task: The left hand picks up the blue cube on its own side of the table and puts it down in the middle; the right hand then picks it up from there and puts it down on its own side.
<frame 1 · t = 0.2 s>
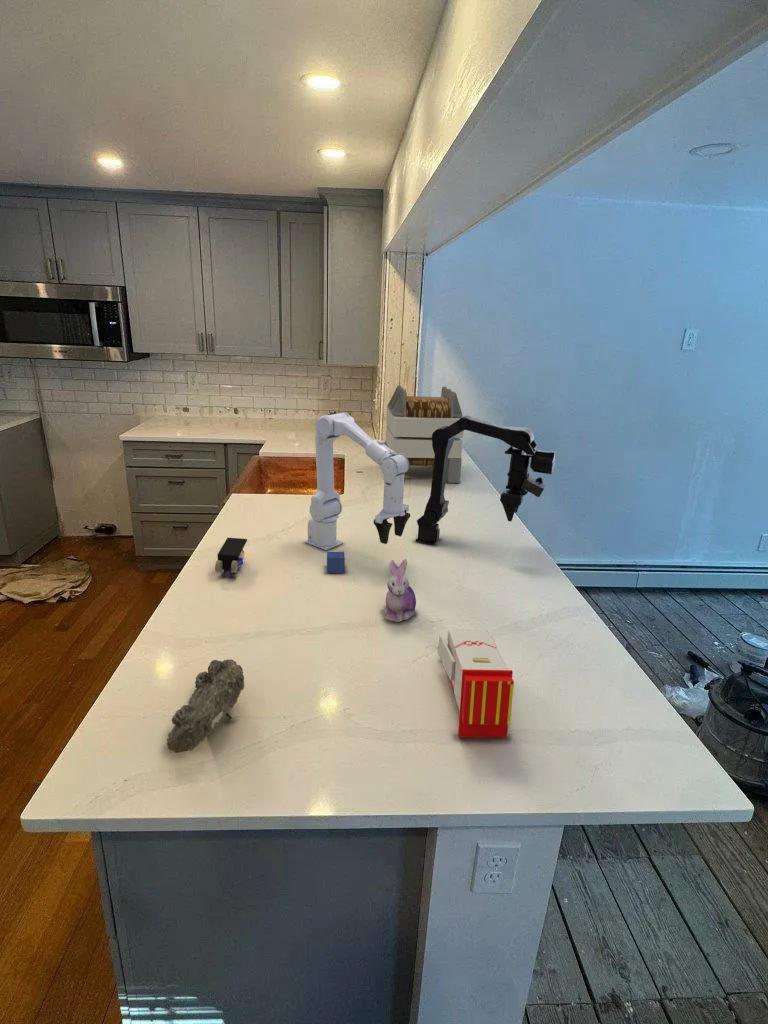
left hand: (391, 539, 169), 10 cm above the counter, tool pointing down, fingers open, 7 cm apart
right hand: (512, 516, 180), 14 cm above the counter, tool pointing down, fingers open, 9 cm apart
figurine: (399, 614, 147), on the counter
toy: (469, 691, 119), on the counter
fossil: (212, 717, 108), on the counter
blue cube: (335, 569, 171), on the counter
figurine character: (232, 569, 168), on the counter
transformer: (419, 473, 275), on the counter
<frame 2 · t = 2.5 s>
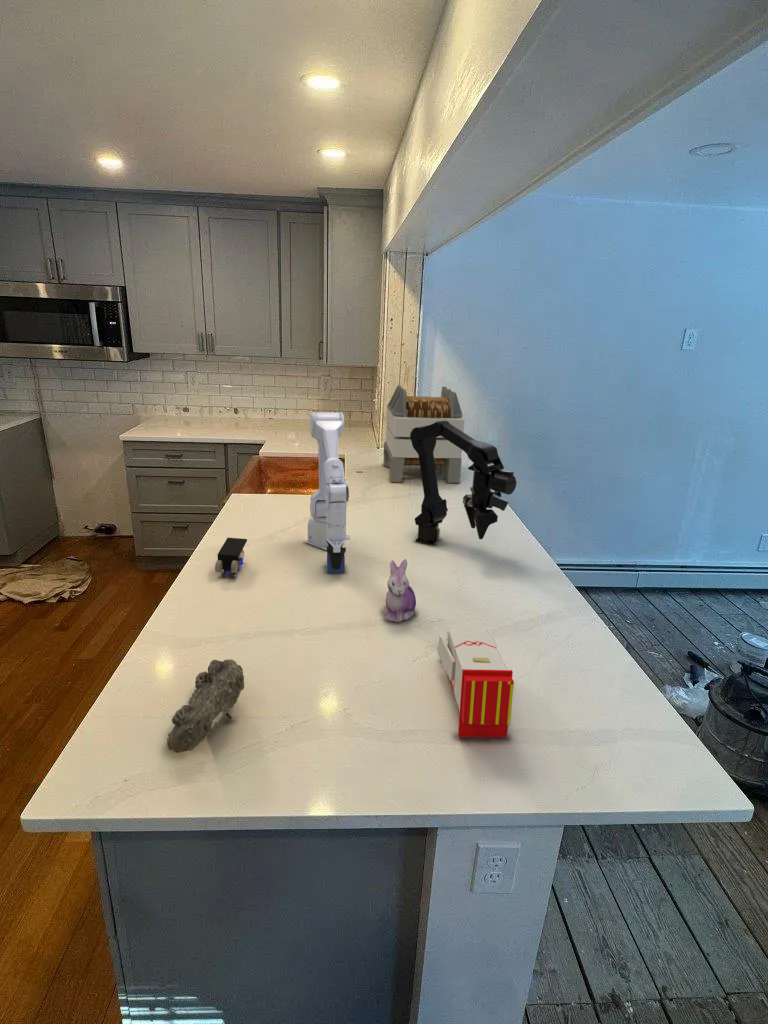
left hand: (335, 564, 170), 2 cm above the counter, tool pointing down, fingers closed on blue cube, 4 cm apart
right hand: (476, 533, 179), 9 cm above the counter, tool pointing down, fingers open, 9 cm apart
blue cube: (335, 569, 171), on the counter, touching left hand
everything else where it was.
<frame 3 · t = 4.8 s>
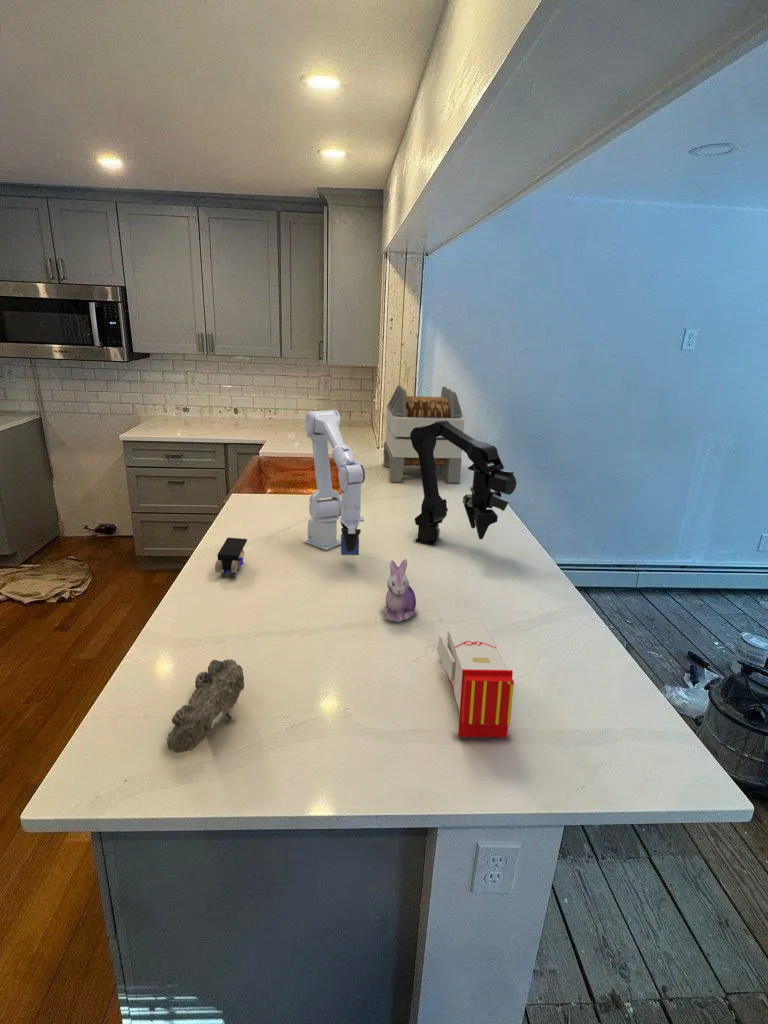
left hand: (349, 547, 170), 7 cm above the counter, tool pointing down, fingers closed on blue cube, 4 cm apart
right hand: (476, 533, 179), 9 cm above the counter, tool pointing down, fingers open, 9 cm apart
blue cube: (349, 551, 171), point 5 cm above the counter, touching left hand
everything else where it was.
when the left hand's fingers open (3 cm above the counter, at t = 7.2 s): blue cube stays where it is, on the counter.
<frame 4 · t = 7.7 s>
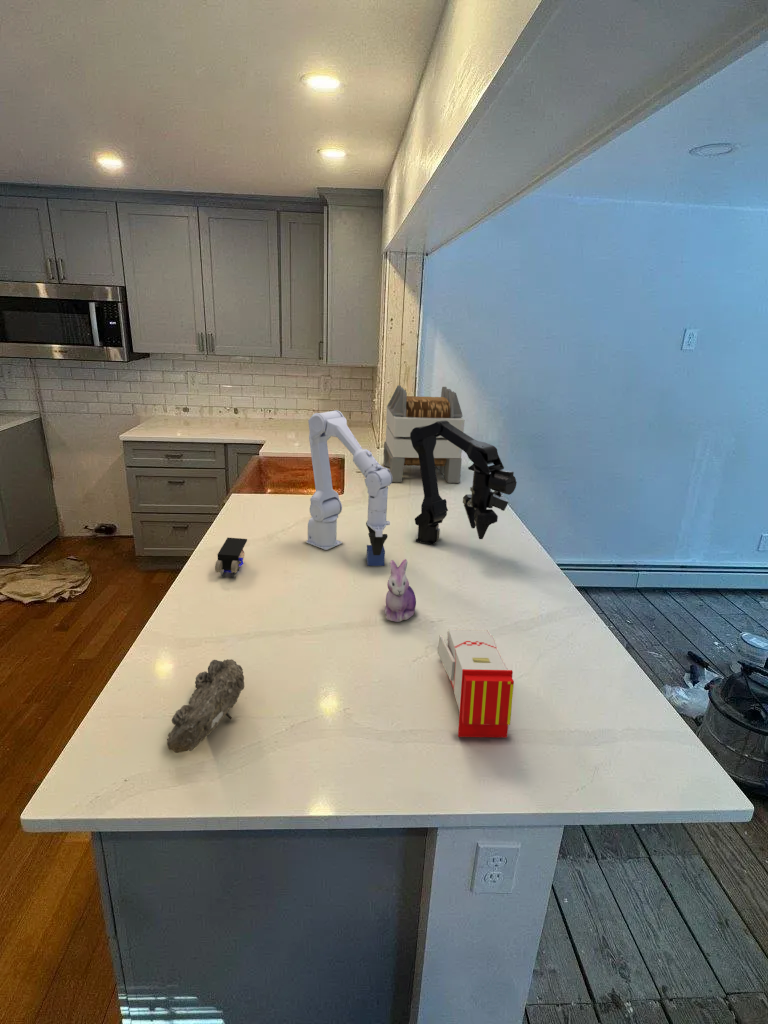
left hand: (375, 549, 175), 4 cm above the counter, tool pointing down, fingers open, 7 cm apart
right hand: (476, 533, 179), 9 cm above the counter, tool pointing down, fingers open, 9 cm apart
blue cube: (375, 562, 177), on the counter
everything else where it was.
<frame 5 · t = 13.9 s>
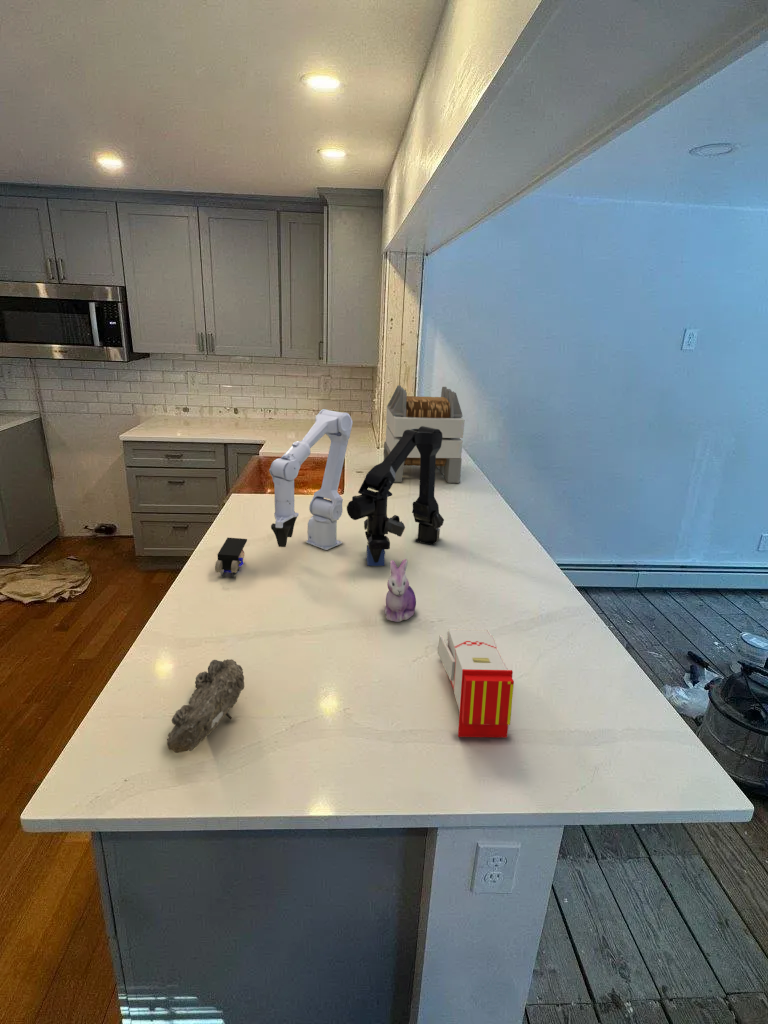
left hand: (285, 541, 171), 7 cm above the counter, tool pointing down, fingers open, 7 cm apart
right hand: (375, 559, 176), 1 cm above the counter, tool pointing down, fingers closed on blue cube, 4 cm apart
blue cube: (375, 562, 177), on the counter, touching right hand
everything else where it was.
when the right hand's fingers open (2 cm above the counter, at t = 19.9 s): blue cube stays where it is, on the counter.
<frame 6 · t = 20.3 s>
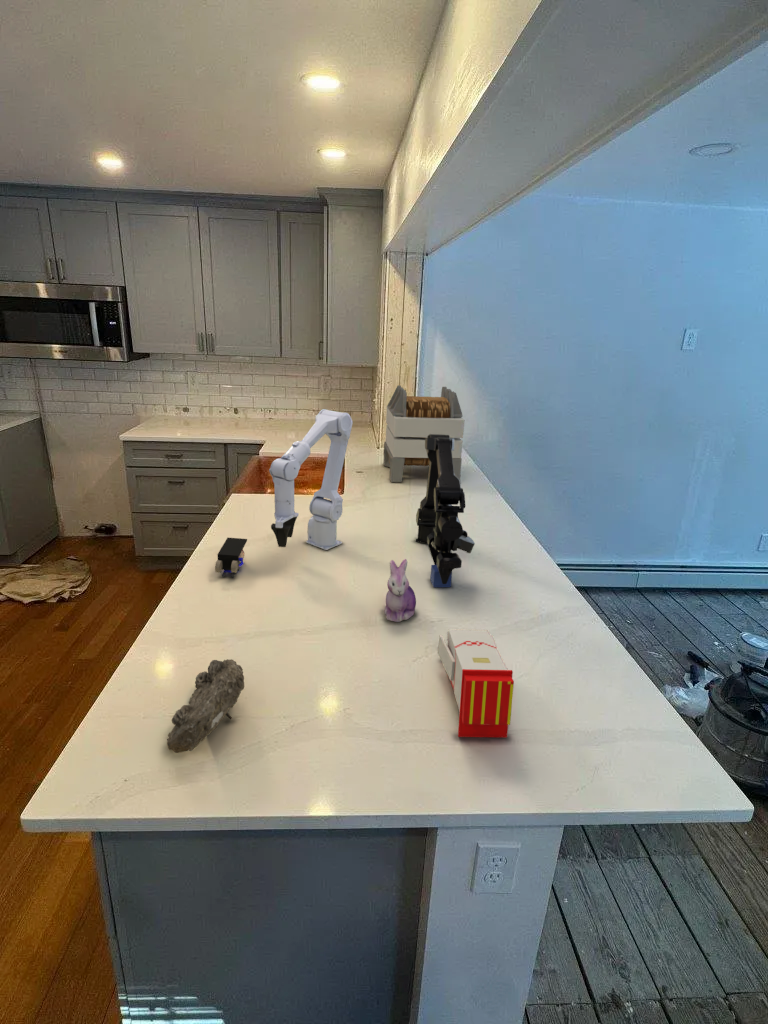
left hand: (285, 541, 171), 7 cm above the counter, tool pointing down, fingers open, 7 cm apart
right hand: (441, 576, 164), 2 cm above the counter, tool pointing down, fingers open, 8 cm apart
blue cube: (440, 583, 165), on the counter
everything else where it was.
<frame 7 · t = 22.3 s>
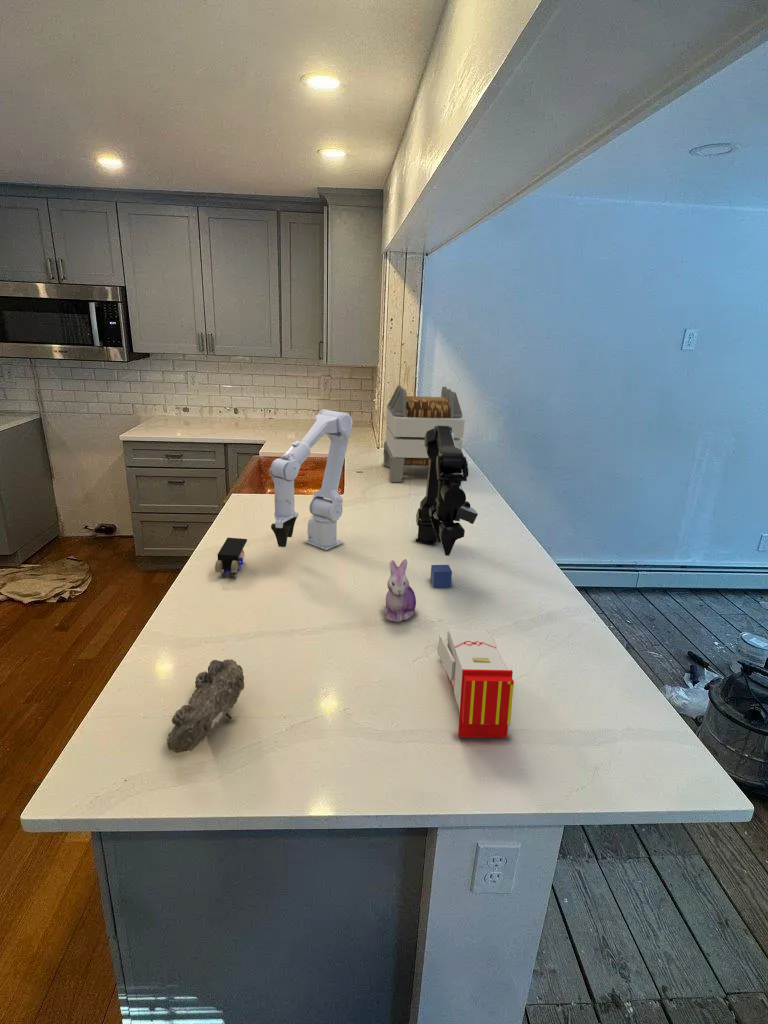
left hand: (285, 541, 171), 7 cm above the counter, tool pointing down, fingers open, 7 cm apart
right hand: (443, 548, 161), 11 cm above the counter, tool pointing down, fingers open, 9 cm apart
nothing on the counter moved.
at the end: blue cube inside the target area (0.1 cm from its centre), on the counter; blue cube tilted 0°; the two hands never held the blue cube at the same time; the left hand is holding nothing; the right hand is holding nothing; blue cube at rest at the end (0.0 cm/s) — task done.
